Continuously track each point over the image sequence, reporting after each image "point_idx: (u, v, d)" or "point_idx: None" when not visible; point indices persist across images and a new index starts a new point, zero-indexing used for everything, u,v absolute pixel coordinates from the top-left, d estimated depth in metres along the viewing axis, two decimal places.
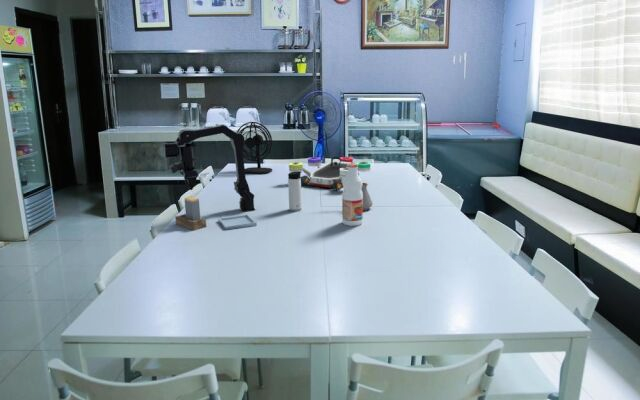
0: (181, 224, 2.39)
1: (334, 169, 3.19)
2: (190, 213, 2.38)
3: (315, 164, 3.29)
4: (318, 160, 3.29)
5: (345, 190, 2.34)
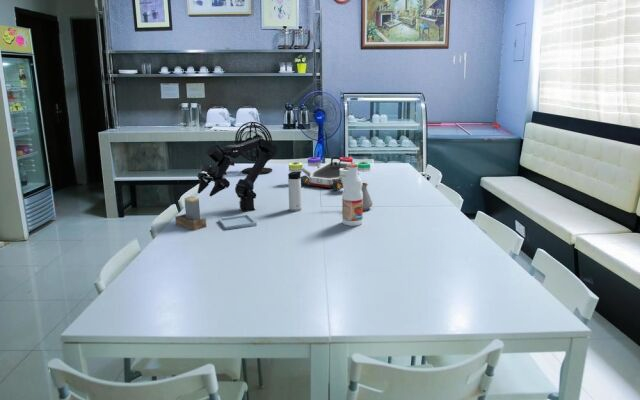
0: (181, 224, 2.39)
1: (334, 169, 3.19)
2: (190, 213, 2.38)
3: (315, 164, 3.29)
4: (318, 160, 3.29)
5: (345, 190, 2.34)
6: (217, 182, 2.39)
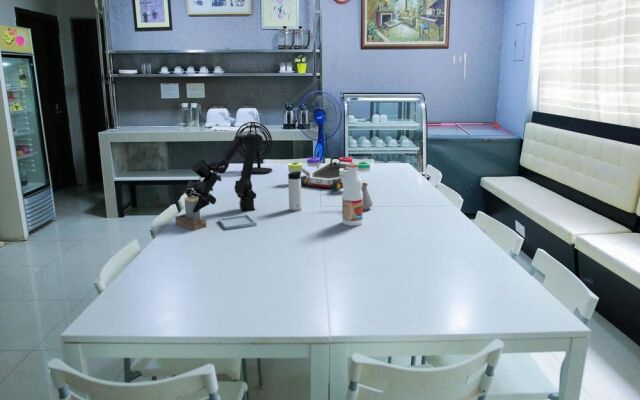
0: (181, 224, 2.39)
1: (333, 169, 3.18)
2: (190, 213, 2.38)
3: (314, 164, 3.28)
4: (317, 160, 3.29)
5: (345, 190, 2.34)
6: (201, 198, 2.36)
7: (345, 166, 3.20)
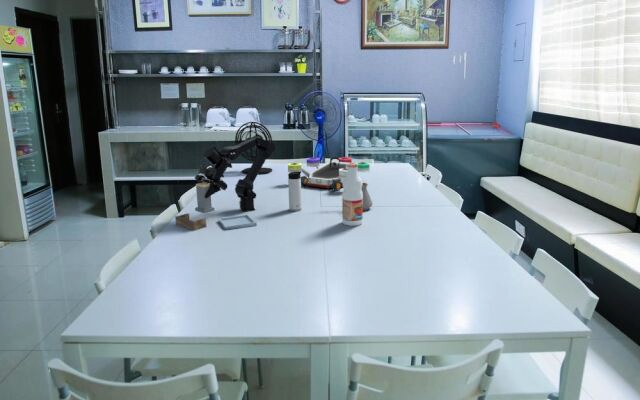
0: (181, 224, 2.39)
1: (333, 169, 3.18)
2: (201, 198, 2.42)
3: (314, 164, 3.28)
4: (317, 160, 3.28)
5: (345, 190, 2.34)
6: (212, 184, 2.39)
7: (345, 166, 3.19)
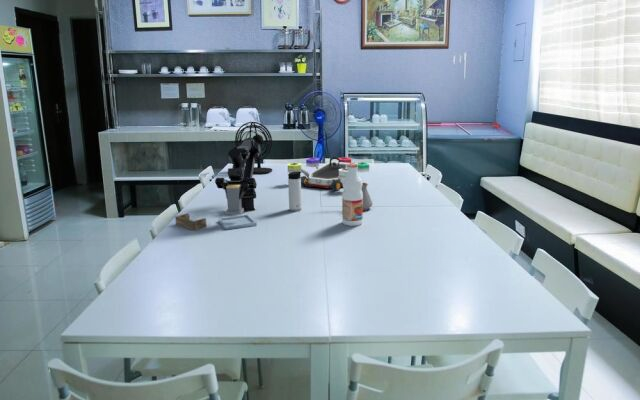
0: (181, 224, 2.39)
1: (333, 170, 3.17)
2: (235, 200, 2.38)
3: (313, 165, 3.27)
4: (316, 161, 3.28)
5: (345, 190, 2.34)
6: (245, 184, 2.39)
7: (344, 166, 3.19)
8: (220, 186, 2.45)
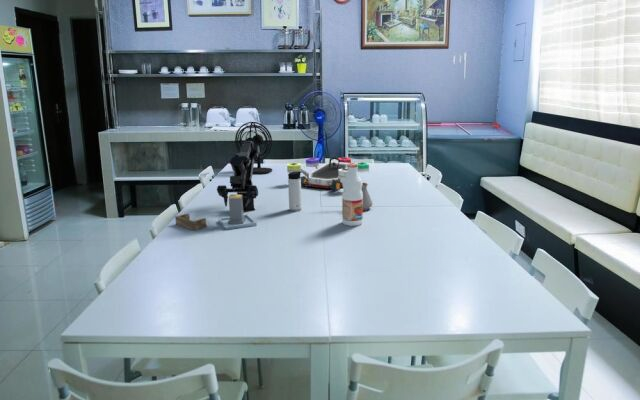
0: (181, 224, 2.39)
1: (332, 170, 3.17)
2: (237, 210, 2.39)
3: (313, 165, 3.27)
4: (316, 161, 3.27)
5: (345, 190, 2.34)
6: (251, 191, 2.40)
7: (344, 166, 3.18)
8: None
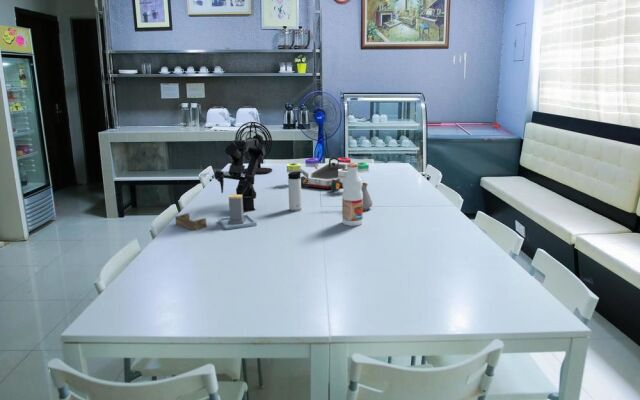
0: (181, 224, 2.39)
1: (332, 170, 3.17)
2: (237, 210, 2.39)
3: (313, 165, 3.27)
4: (316, 161, 3.27)
5: (345, 190, 2.34)
6: (248, 182, 2.44)
7: (344, 167, 3.18)
8: None
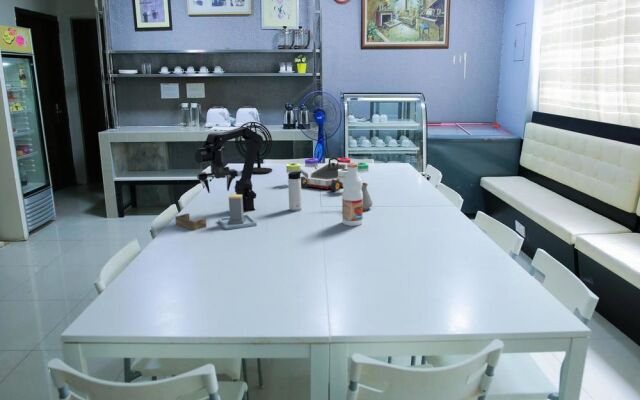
0: (181, 224, 2.39)
1: (332, 170, 3.16)
2: (237, 210, 2.39)
3: (312, 165, 3.26)
4: (315, 161, 3.27)
5: (345, 190, 2.34)
6: (233, 178, 2.48)
7: (343, 167, 3.18)
8: None
